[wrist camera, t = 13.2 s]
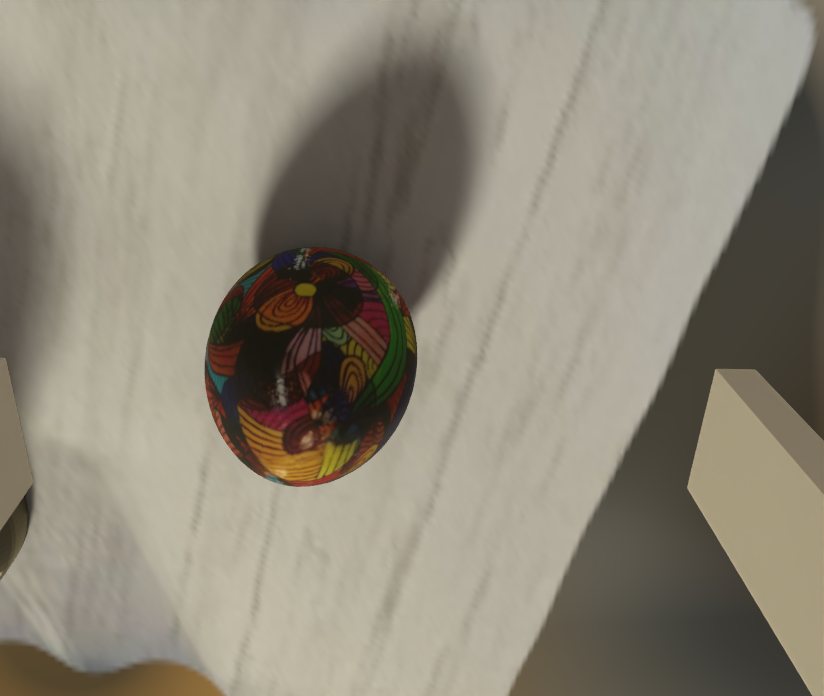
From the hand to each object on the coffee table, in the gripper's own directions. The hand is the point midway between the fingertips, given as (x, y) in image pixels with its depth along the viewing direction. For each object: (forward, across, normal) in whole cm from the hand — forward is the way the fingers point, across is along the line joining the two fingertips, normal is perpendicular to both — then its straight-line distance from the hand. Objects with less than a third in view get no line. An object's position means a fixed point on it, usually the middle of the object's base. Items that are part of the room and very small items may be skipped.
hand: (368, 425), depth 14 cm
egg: (+29, -3, -10) cm, 31 cm away
